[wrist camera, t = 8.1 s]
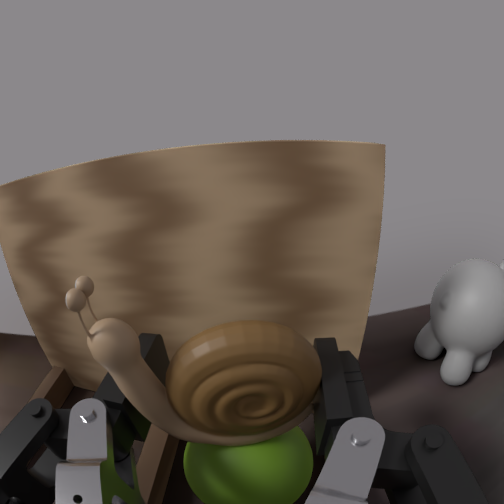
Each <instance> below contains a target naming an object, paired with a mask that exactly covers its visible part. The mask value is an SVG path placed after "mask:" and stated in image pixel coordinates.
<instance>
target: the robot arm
mask: <svg viewBox="0 0 504 504" xmlns="http://www.w3.org/2000/svg"><path fill="white" fill-rule="evenodd" d="M138 338H139V341H140V353H141V356H142V358H143V359H144V361H145V362H146V364H147V365H148V366H149V368H150V369H151V370H152V372H153V373H154V374H155V375H156V377H157V378H158V379H159V380H160V382H161V383H162V384H163V385H164V387H166V386H165V379H166V372H167V369H168V366H169V364H170V361H169V358H168V355H167V351H166V348H165V344H164V341H163V338H162V336H161V335H160V334H153V333H141V334H140V335H139V337H138ZM313 347H314V349H315V350H316V352H317V354H318V356H319V359H320V363H321V367H322V378H321V384H320V387H319V390H318V392H317V394H316V396H315V398H314V399H313V404H314V409H313V412H314V424H315V437H316V451H317V456H318V455H325V464H324V467H323V469H322V471H321V473H320V475H319V477H318V479H317V481H316V483H315V485H314V487H313V489H312V491H311V492H310V494H309V496H308V498H307V500H306V502H305V504H368V500H367V497H368V493H369V490H370V488H371V487H372V488H382V489H385V491H386V494H387V496H388V499H389V501H390V504H489V503H488V501H487V499H486V497H485V495H484V494H483V492H482V490H481V488H480V486H479V484H478V482H477V480H476V479H475V477H474V475H473V473H472V471H471V470H470V468H469V466H468V464H467V463H466V461H465V459H464V457H463V456H462V454H461V452H460V450H459V449H458V447H457V445H456V444H455V442H454V440H453V439H452V437H451V435H450V434H449V432H448V431H447V430H446V429H444V428H443V427H441V426H438V425H425V426H422V427H421V428H419V429H418V430H417V431H416V432H415V433H414V434H411V433H400V432H392V431H389V430H386V429H384V428H383V427H382V426H381V425H380V424H379V423H378V422H376V421H375V419H374V417H373V414H372V410H371V406H370V403H369V399H368V395H367V391H366V388H365V384H364V382H363V377H362V373H361V370H360V366H359V363H358V360H357V359H356V357H355V356H354V355H353V354H352V353H351V352H350V351H349V350H347V351H338V346H337V342H336V339H335V337H329V338H315V339H314V344H313ZM151 423H152V422H150V421H149V420H148V419H147V418H146V417H144V416H143V415H142V414H141V413H140V412H139V411H138V410H137V409H136V408H135V407H134V406H133V405H132V403H131V402H130V401H129V400H128V399H127V398H126V396H125V395H124V394H123V393H122V391H121V390H120V389H119V387H118V386H117V384H116V382H115V381H114V379H113V377H112V376H111V374H110V373H109V372H107V374H106V375H105V377H104V379H103V380H102V382H101V384H100V386H99V387H98V389H97V391H96V392H95V394H94V396H93V397H92V398H88V399H84V400H81V401H79V402H78V403H76V404H75V405H74V406H73V408H72V409H54V408H53V406H52V405H51V403H50V402H49V401H48V400H46V399H44V398H36V399H33V400H31V401H30V402H28V403H27V404H26V405H25V407H24V408H23V409H22V410H21V411H20V412H19V413H18V414H17V415H16V417H15V418H14V419H13V420H12V421H11V422H10V423H9V424H8V426H7V427H6V428H5V429H4V430H3V431H2V432H1V434H0V504H52V503H53V502H54V500H55V501H56V504H146V503H145V501H144V499H143V498H142V496H141V493H140V489H139V484H138V477H137V471H136V464H135V456H134V450H133V448H132V444H133V441H134V440H139V441H143V442H145V440H146V437H147V434H148V431H149V429H150V426H151ZM43 443H44V444H45V446H46V447H47V449H46V450H45V452H44V453H43V454H42V456H41V457H40V458H39V459H38V461H37V462H36V463H35V465H34V466H33V467H32V468H31V469H27V464H28V462H29V461H30V460H31V458H32V457H33V456H34V454H35V453H36V452H37V451H38V449H39V448H40V447H41V446H42V444H43Z"/></svg>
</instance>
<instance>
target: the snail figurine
mask: <svg viewBox="0 0 504 504" xmlns="http://www.w3.org/2000/svg"><path fill="white" fill-rule="evenodd" d="M93 291H94V283H93V281H92V279H91V278H89V277H88V276H80V277H79V278H78V279H77V280H76V282H75V288H73V289H70V290H69V291H68V292H67V294H66V298H65V302H66V305H67V308H68V309H69V310H71V311H73V312H77V314H78V317H79V319H80V321H81V324H82V326H83V328H84V330H85V332H86V334H87V335H88V337H87V344H88V347H89V349H90V351H91V353H92V355H93V358H94V359H95V360H96V361H97V362H98V363H99V364H100V365H101V366H103V367H104V368H105V369H106V370H107V371H108V372H109V373H110V374H111V376H112V377H113V379H114V381H115V382H116V384H117V386H118V387H119V389H120V390H121V391H122V393H123V394H124V395H125V396H126V398H127V399H128V400H129V401H130V402H131V403H132V405H133V406H134V407H135V408H136V409H137V410H138V411H139V412H140V413H141V414H142V415H143V416H144V417H146V418H147V419H148V420H149V421H150V422H152V423H153V424H154V425H155V426H157V427H158V428H160V429H161V430H163V431H165V432H166V433H168V434H170V435H172V436H173V437H176V438H178V439H181V440H184V441H188V442H187V445H186V448H185V452H184V472H185V476H186V479H187V481H188V484H189V486H190V487H191V489H192V491H193V492H194V493H195V495H196V496H197V497H198V498H199V499H200V500H201V501H202V502H203V503H204V504H293V503H294V502H295V501H296V500H297V499H298V498H299V497H300V496H301V495H302V493H303V492H304V491H305V489H306V487H307V485H308V483H309V481H310V478H311V475H312V470H313V454H312V450H311V446H310V444H309V441H308V439H307V438H306V436H305V434H304V433H303V431H302V430H301V429H300V428H299V427H298V426H297V425H299V424H300V423H301V422H302V421H304V420H305V419H306V418H307V417H308V416H309V415H310V414H311V412H312V411H313V409H314V404H313V403H311V402H312V401H313V399H314V398H315V396H316V394H317V392H318V390H319V387H320V384H321V378H322V367H321V363H320V359H319V356H318V354H317V352H316V350H315V349H314V347H313V345H312V344H311V343H310V342H309V341H308V340H307V339H306V338H305V337H303V336H302V335H301V334H300V333H298V332H296V331H295V330H293V329H291V328H289V327H287V326H284V325H280V324H277V323H274V322H268V321H260V320H240V321H234V322H228V323H223V324H220V325H217V326H214V327H211V328H208V329H206V330H204V331H202V332H200V333H199V334H197V335H195V336H193V337H191V338H190V339H189V340H188V341H187V342H185V343H184V344H183V345H182V346H180V348H179V349H178V350H177V352H176V353H175V354H174V356H173V357H172V359H171V361H170V364H169V366H168V369H167V372H166V379H165V386H166V388H165V387H164V385H163V384H162V383H161V382H160V380H159V379H158V378H157V377H156V375H155V374H154V373H153V372H152V370H151V369H150V368H149V366H148V365H147V364H146V362H145V361H144V359H143V358H142V356H141V353H140V341H139V338H138V336H137V334H136V332H135V331H134V329H133V328H132V327H131V326H130V325H128V324H127V323H125V322H124V321H122V320H119V319H116V318H105V319H102V320H100V321H98V319H97V318H96V316H95V314H94V312H93V310H92V308H91V305H90V302H89V299H88V297H89V296H90V295H91V294H92V293H93ZM86 302H87V305H88V307H89V310H90V312H91V314H92V317H93V319H94V320H95V322H96V323H95V324H94V325H93V326H92V327H91V329H90V330H89V331H88V329H87V328H86V326H85V324H84V322H83V319H82V317H81V313H80V311H81V310H82V309H83V308H84V307H85V305H86Z"/></svg>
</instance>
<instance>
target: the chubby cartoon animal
mask: <svg viewBox="0 0 504 504" xmlns="http://www.w3.org/2000/svg"><path fill="white" fill-rule="evenodd" d="M430 317H431V319H430V321H429V322H428V323H427V324H426V325H425V326H424V327H423V328H422V330H421V331H420V332H419V334H418V335H417V337H416V340H415V344H414V348H415V351H416V353H417V354H418V355H419V356H421V357H422V358H425V359H428V360H433V359H436V358H437V357H438V356H439V355H440V354H441V352H442V350H443V348H444V347H445V349H446V350H447V354H446V356H445V358H444V360H443V362H442V365H441V369H440V375H441V378H442V380H443V381H444V382H445V383H446V384H449V385H461V384H463V383H465V382H466V381H467V379H468V378H469V376H470V374H471V371H473V372H480V371H482V370H484V369H485V367H486V366H487V365H488V363H489V360H490V358H491V354H492V350H494V349H495V348H496V347H497V346H499V345H500V344H501V342H502V341H503V340H504V259H503V260H502V262H501V263H500V265H499V266H498V265H496V264H495V263H493V262H491V261H488V260H484V259H468V260H464V261H462V262H459V263H458V264H456V265H454V266H453V267H451V268H450V269H449V270H448V271H447V272H446V273H445V274H444V275H443V276H442V278H441V279H440V281H439V282H438V284H437V286H436V288H435V290H434V293H433V296H432V301H431V306H430Z"/></svg>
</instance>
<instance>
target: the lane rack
mask: <svg viewBox="0 0 504 504" xmlns="http://www.w3.org/2000/svg"><path fill="white" fill-rule="evenodd" d="M384 178H385V145H384V144H378V143H368V142H351V141H326V140H275V141H274V140H271V141H245V142H228V143H214V144H203V145H193V146H183V147H174V148H167V149H159V150H152V151H145V152H138V153H132V154H126V155H120V156H114V157H109V158H104V159H99V160H94V161H89V162H84V163H79V164H75V165H71V166H66V167H62V168H58V169H55V170H50V171H46V172H43V173H39V174H35V175H32V176H28V177H25V178H22V179H18V180H15V181H12V182H9V183H6V184H3V185H0V243H1V247H2V250H3V253H4V257H5V260H6V263H7V267H8V269H9V273H10V275H11V278H12V281H13V284H14V287H15V289H16V292H17V294H18V297H19V299H20V302H21V304H22V307H23V309H24V311H25V314H26V316H27V318H28V320H29V322H30V325H31V327H32V329H33V331H34V333H35V335H36V337H37V339H38V341H39V343H40V345H41V347H42V349H43V351H44V353H45V355H46V357H47V359H48V360H49V362H50V364H51V366H52V369H51V370H50V372H49V373H48V374H47V376H46V377H45V379H44V380H43V381H42V383H41V384H40V385H39V387H38V388H37V390H36V391H35V393H34V394H33V395H32V397H31V398H30V400H29V401H28V402H30V401H31V400H33V399H36V398H44V399H46V400H48V401H49V402H50V403H51V405H52V406H53V408H54V409H60V408H61V406H62V405H63V403H64V401H65V400H66V398H67V397H68V395H69V393H70V392H71V390H72V389H73V387H74V386H77V387H80V388H84V389H88V390H91V391H95V392H96V391H97V389H98V387H99V386H100V384H101V382H102V380H103V379H104V377H105V375H106V374H107V372H108V371H107V370H106V369H105V368H104V367H103V366H101V365H100V364H99V363H98V362H97V361H96V360H95V359H94V358H93V355H92V353H91V351H90V349H89V347H88V344H87V337H88V335H87V334H86V332H85V330H84V328H83V326H82V324H81V321H80V319H79V317H78V314H77V312H73V311H71V310H69V309H68V308H67V305H66V302H65V298H66V294H67V292H68V291H69V290H70V289H73V288H75V282H76V280H77V279H78V278H79V277H80V276H88V277H89V278H91V279H92V281H93V283H94V291H93V293H92V294H91V295H90V296H89V297H88V299H89V302H90V305H91V308H92V310H93V312H94V314H95V316H96V318H97V319H98V321H100V320H102V319H105V318H116V319H119V320H122V321H124V322H125V323H127V324H128V325H130V326H131V327H132V328H133V329H134V331H135V332H136V334H137V336H138V337H139V335H140V334H141V333H153V334H160V335H161V336H162V338H163V341H164V344H165V348H166V351H167V355H168V358H169V361H171V359H172V357H173V356H174V354H175V353H176V352H177V350H178V349H179V348H180V346H182V345H183V344H184V343H185V342H187V341H188V340H189V339H190V338H191V337H193V336H195V335H197V334H199V333H200V332H202V331H204V330H206V329H208V328H211V327H214V326H217V325H220V324H223V323H228V322H234V321H240V320H260V321H268V322H274V323H277V324H280V325H284V326H287V327H289V328H291V329H293V330H295V331H296V332H298V333H300V334H301V335H302V336H303V337H305V338H306V339H307V340H308V341H309V342H310V343H311V344H312V345H313V344H314V339H315V338H329V337H335V339H336V342H337V346H338V351H347V350H349V351H350V352H351V353H352V354H353V355H354V356H355V357H356V359H357V360H358V358H359V354H360V350H361V345H362V341H363V336H364V332H365V327H366V322H367V317H368V312H369V307H370V301H371V296H372V290H373V284H374V277H375V271H376V264H377V257H378V249H379V240H380V231H381V221H382V209H383V195H384ZM80 313H81V317H82V319H83V322H84V324H85V326H86V328H87V329H88V331H89V330H90V329H91V327H92V326H93V325H94V324H95V323H96V322H95V320H94V319H93V317H92V314H91V312H90V310H89V307H88V305H87V302H86V305H85V307H84V308H83V309H82V310H81V311H80ZM165 388H166V387H165ZM311 403H313V401H312V402H311ZM311 413H314V412H313V411H312V412H311ZM179 440H180V439H178V438H176V437H173V436H172V435H170V434H168V433H166V432H165V431H163V430H161V429H160V428H158V427H157V426H155V425H154V424H153V423H152V424H151V427H150V429H149V432H148V435H147V438H146V440H145V443H144V446H143V449H142V451H141V454H140V457H139V460H138V463H137V466H136V471H137V477H138V484H139V489H140V493H141V496H142V498H143V499H144V501H145V503H146V504H162V502H163V498H164V494H165V490H166V487H167V483H168V479H169V476H170V472H171V468H172V465H173V461H174V458H175V454H176V450H177V447H178V443H179ZM324 457H325V455H324ZM29 462H30V461H29ZM29 462H28V464H29ZM28 464H27V466H28Z"/></svg>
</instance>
